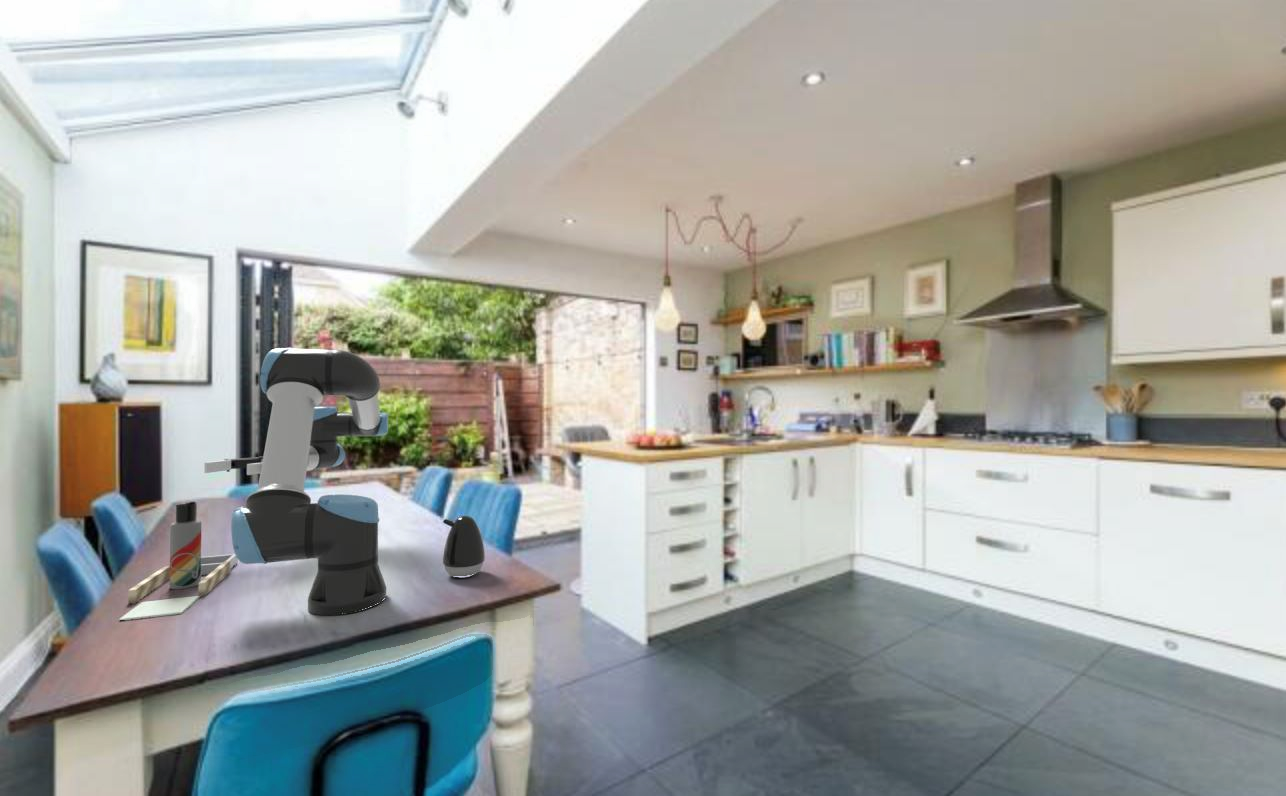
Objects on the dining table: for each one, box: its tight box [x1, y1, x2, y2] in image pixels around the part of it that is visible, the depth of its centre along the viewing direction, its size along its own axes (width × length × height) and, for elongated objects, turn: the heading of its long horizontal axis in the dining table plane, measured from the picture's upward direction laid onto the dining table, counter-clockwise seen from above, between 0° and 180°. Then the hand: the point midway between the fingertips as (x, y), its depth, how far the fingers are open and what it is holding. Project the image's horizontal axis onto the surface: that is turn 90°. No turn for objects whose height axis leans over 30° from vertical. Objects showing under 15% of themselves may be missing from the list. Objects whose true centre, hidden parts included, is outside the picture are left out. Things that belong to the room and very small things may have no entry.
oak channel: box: [127, 561, 231, 604], centre depth 127 cm, size 18×13×3 cm
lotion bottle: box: [169, 501, 202, 590], centre depth 128 cm, size 6×6×20 cm
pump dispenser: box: [442, 515, 486, 577], centre depth 137 cm, size 10×10×15 cm
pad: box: [118, 595, 201, 621], centre depth 114 cm, size 10×10×1 cm
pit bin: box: [201, 553, 238, 576], centre depth 139 cm, size 9×12×2 cm
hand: (226, 468), depth 138 cm, fingers open, 13 cm apart
